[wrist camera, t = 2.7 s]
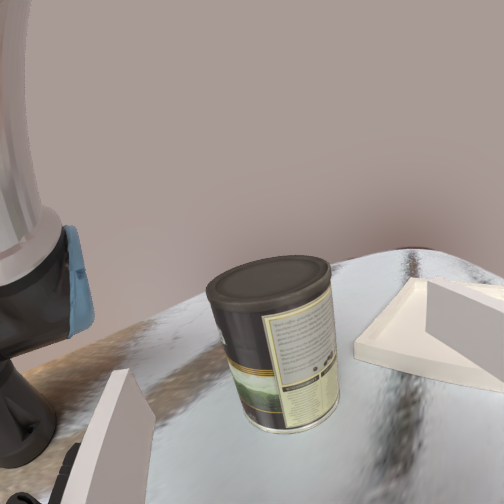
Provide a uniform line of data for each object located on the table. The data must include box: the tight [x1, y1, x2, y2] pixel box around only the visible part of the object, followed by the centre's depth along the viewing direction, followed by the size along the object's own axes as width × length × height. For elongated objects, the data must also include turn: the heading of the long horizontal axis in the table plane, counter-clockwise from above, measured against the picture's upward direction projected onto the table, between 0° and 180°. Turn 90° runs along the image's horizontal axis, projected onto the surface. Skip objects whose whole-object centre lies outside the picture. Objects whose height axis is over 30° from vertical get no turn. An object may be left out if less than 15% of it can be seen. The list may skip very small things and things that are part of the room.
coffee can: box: [206, 255, 340, 434], centre depth 24 cm, size 10×10×14 cm
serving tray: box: [354, 277, 504, 393], centre depth 27 cm, size 20×20×2 cm
